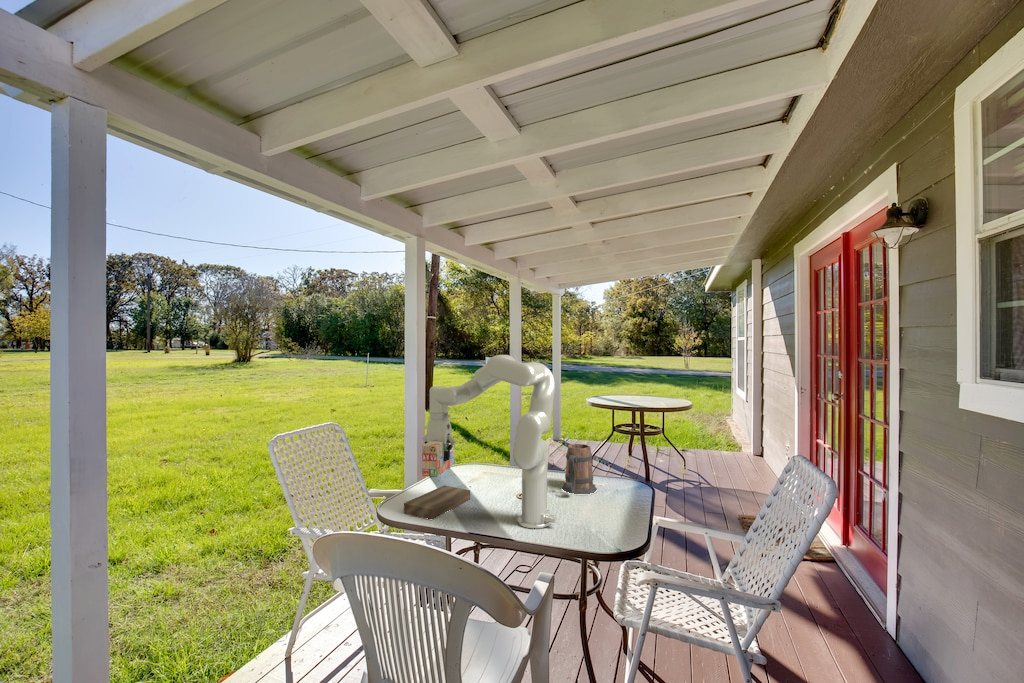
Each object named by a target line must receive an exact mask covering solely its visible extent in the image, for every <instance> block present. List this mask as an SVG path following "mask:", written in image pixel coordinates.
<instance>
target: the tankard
mask: <svg viewBox="0 0 1024 683" xmlns="http://www.w3.org/2000/svg"><path fill="white" fill-rule="evenodd" d="M567 446H568V447H567V451H566V454H565V458H566V466H565V467H566V468H565V476H564V479H565V482H564V483H563V485H562V486H561V487H562V489H563V490H564V491H566V492H569V493H574V494H590V493H594V492H595V491H596V490H597V489H598V488H597V487H596V485H595V484H594V474H593V454H592V449H591V446H590V445H588V444H584V443H575V444H574V443H573V444H571V443H570V444H568V445H567ZM594 494H595V493H594Z"/></svg>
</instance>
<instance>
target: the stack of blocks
mask: <svg viewBox="0 0 1024 683" xmlns="http://www.w3.org/2000/svg"><path fill="white" fill-rule="evenodd" d="M449 444H451V443H449ZM455 444H456V443H455ZM455 444H454V446H453V448H452V449H451V450H450V459H449V460H447V461H444V451H445V449H444V445H443V442H437V441H429V442H428V443H426V444H425V443H423V445H422V450H421V451H422V454H421V456H422V461H421V462H422V463H421V464H422V466H421V468H422V469H421V470H422V477H432V478H437V477H439V476H440V475H442V474H443V473H444V472H445V471H446V470H448V469H449V468H451V467H452V466H453V465H455V463H456V448H455ZM446 446H447V445H446Z"/></svg>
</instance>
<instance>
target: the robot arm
mask: <svg viewBox="0 0 1024 683" xmlns="http://www.w3.org/2000/svg"><path fill="white" fill-rule="evenodd" d="M500 382H505V383H508V384H512V385H515V386H519V387H531V386H533V389H532V393H531V395H530V400H529V402H530V403H529V408H528V411H527V412H526V413H524V414H522V416H521V417H520V418H519V420H518V422H517V424H516V428H515V429H516V430H515V436H514V443H513V449H512V457H513V462H514V463H515V465H516V466H517V467H518V468H520V469H521V515H519V516H518V517H517V523H518V524H519V526H521V527H524V528H527V529H534V528H535V529H543V528H547V527H548V526H550V525H551V524H552V523H553V524H557V520H558V519H557V515H554V514H551V512H550V509H548V467H549V465H548V464H549V459H550V458H549V456H550V448H549V446H548V443H547V441H546V440H544V439H543V438H542V436H543V435H545V434H547V433H548V432H549V430H550V427H551V422H552V421H551V420H552V416H553V415H552V414H553V407H554V406H553V405H554V398H555V392H556V379H555V377H554V374H553V372H552V371H551V370H550V368H548V366H546V365H545V364H543V363H541V362H536V361H532V362H531V361H529V362H521V361H517V360H515V358H514V357H513V356H511V355H510V354H497V355H493V356H491V357H490V358H489V359H488V361H487V363H486V364H485V365H484V366H481V367H480V368H478V369H477V370H475V371H474V376H473V377H472V378H471V379H470V380H468V381H466V382H464V383H462V384H461V385H454V386H449V387H447V386H443V385H435V386H431V387H430V388H429V419H428V422H427V427H426V434H424V436H423V437H422V438H421V439H422V441H423V443H424V444H426V443H428V442H429V441H437V442H443V445H444V449H445V451H444V461H447V460H449V459H450V450H451V449H452V448H453V446H454V444H456V443H457V441H456V440H455V439H454V438H453V434H452V432H453V431H452V425H451V423H452V422H451V419H449V418H450V417H451V414H449V407H451V406H452V407H453V406H458V405H462V404H465V403H468V402H469V401H471V400H473V399H476V398H477V397H479V396H481V395H482V394H483V393H485V391H487V390H489V389H490V388H491V387H494V386H495V385H497V384H498V383H500ZM449 443H451V444H449ZM446 445H447V446H446Z"/></svg>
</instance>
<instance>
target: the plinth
mask: <svg viewBox="0 0 1024 683" xmlns="http://www.w3.org/2000/svg"><path fill="white" fill-rule="evenodd" d="M468 500H469V501H470V500H471V490H470V489H464V488H459V487H455V486H449V485H442V486H440V487H438V488H435V489H433V490H429V491H428V492H426V493H424V494H421V495H419V496H417V497H415V498H413V499H411V500H408V501H406V502H404V503H403V514H405V515H408V516H409V515H410V516H413V517H417V516H418V518H421V517H423V518H422V519H425V518H428V519H427V520H429V519H433V520H435V519H437V518H438V516H439V517H440V516H442V515H444V514H446V513H448V512H450V511H452V510H453V508H454V509H455V508H457V507H459V506H461V505H463V504H465V503H467V502H468ZM466 501H467V502H466ZM451 509H452V510H451ZM449 510H450V511H449ZM447 511H448V512H447ZM445 512H446V513H445ZM436 517H437V518H436ZM434 518H435V519H434Z"/></svg>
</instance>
